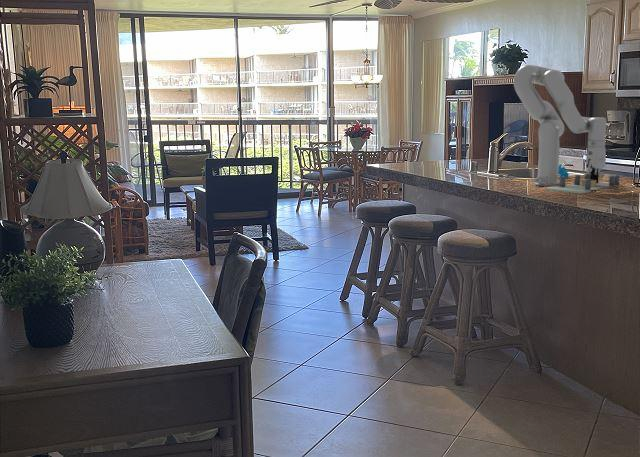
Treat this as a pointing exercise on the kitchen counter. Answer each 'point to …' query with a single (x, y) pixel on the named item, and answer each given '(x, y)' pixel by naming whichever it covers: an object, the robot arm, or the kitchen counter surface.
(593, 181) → the nut
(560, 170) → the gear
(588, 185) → the spacer board
